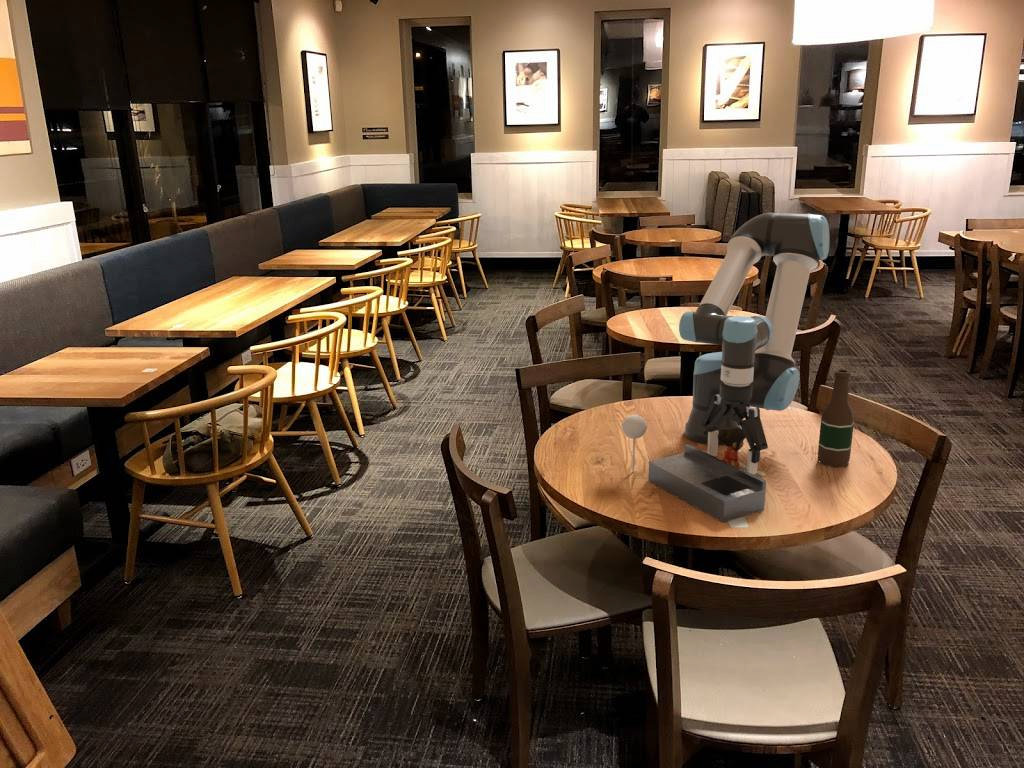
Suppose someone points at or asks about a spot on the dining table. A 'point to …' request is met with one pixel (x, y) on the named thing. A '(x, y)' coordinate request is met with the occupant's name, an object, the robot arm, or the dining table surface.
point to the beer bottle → (837, 425)
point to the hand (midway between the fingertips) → (731, 464)
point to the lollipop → (634, 430)
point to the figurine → (731, 443)
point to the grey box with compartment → (709, 484)
